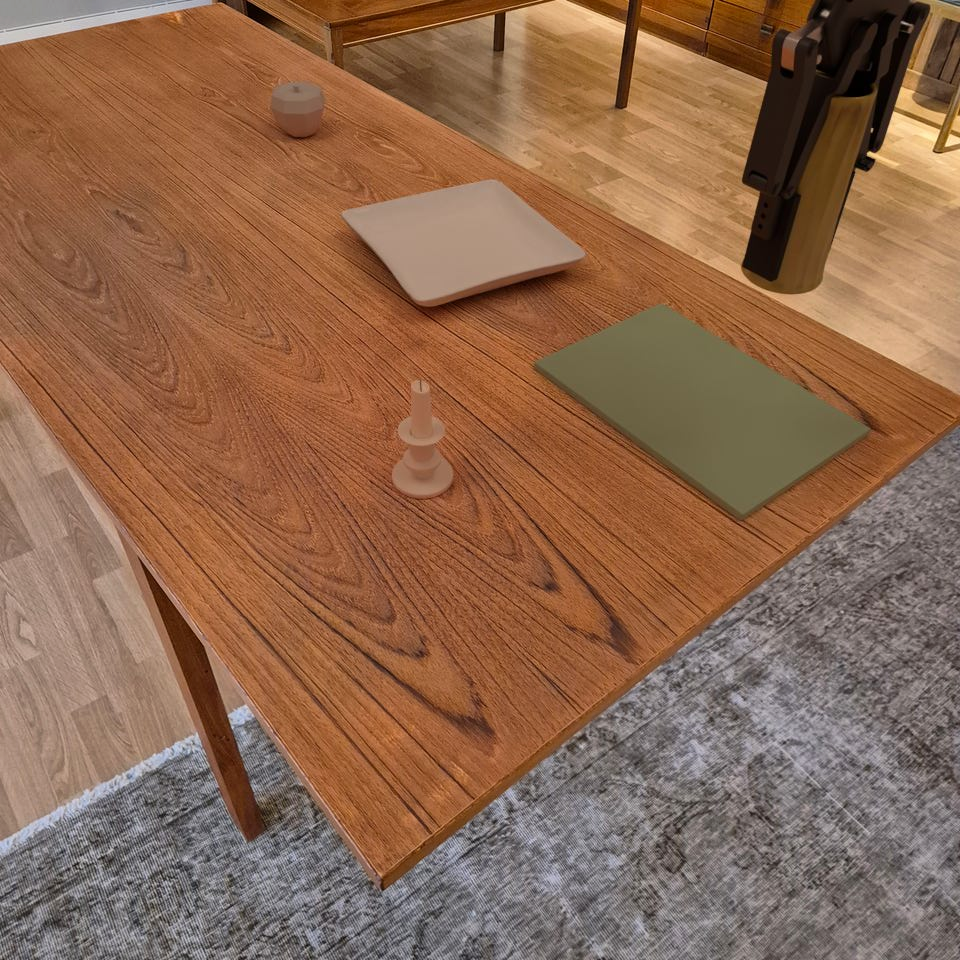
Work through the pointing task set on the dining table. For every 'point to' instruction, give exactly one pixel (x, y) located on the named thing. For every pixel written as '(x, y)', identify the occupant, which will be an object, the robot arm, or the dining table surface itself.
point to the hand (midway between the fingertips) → (786, 259)
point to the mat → (703, 407)
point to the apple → (298, 107)
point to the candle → (421, 450)
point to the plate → (462, 241)
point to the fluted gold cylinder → (821, 195)
